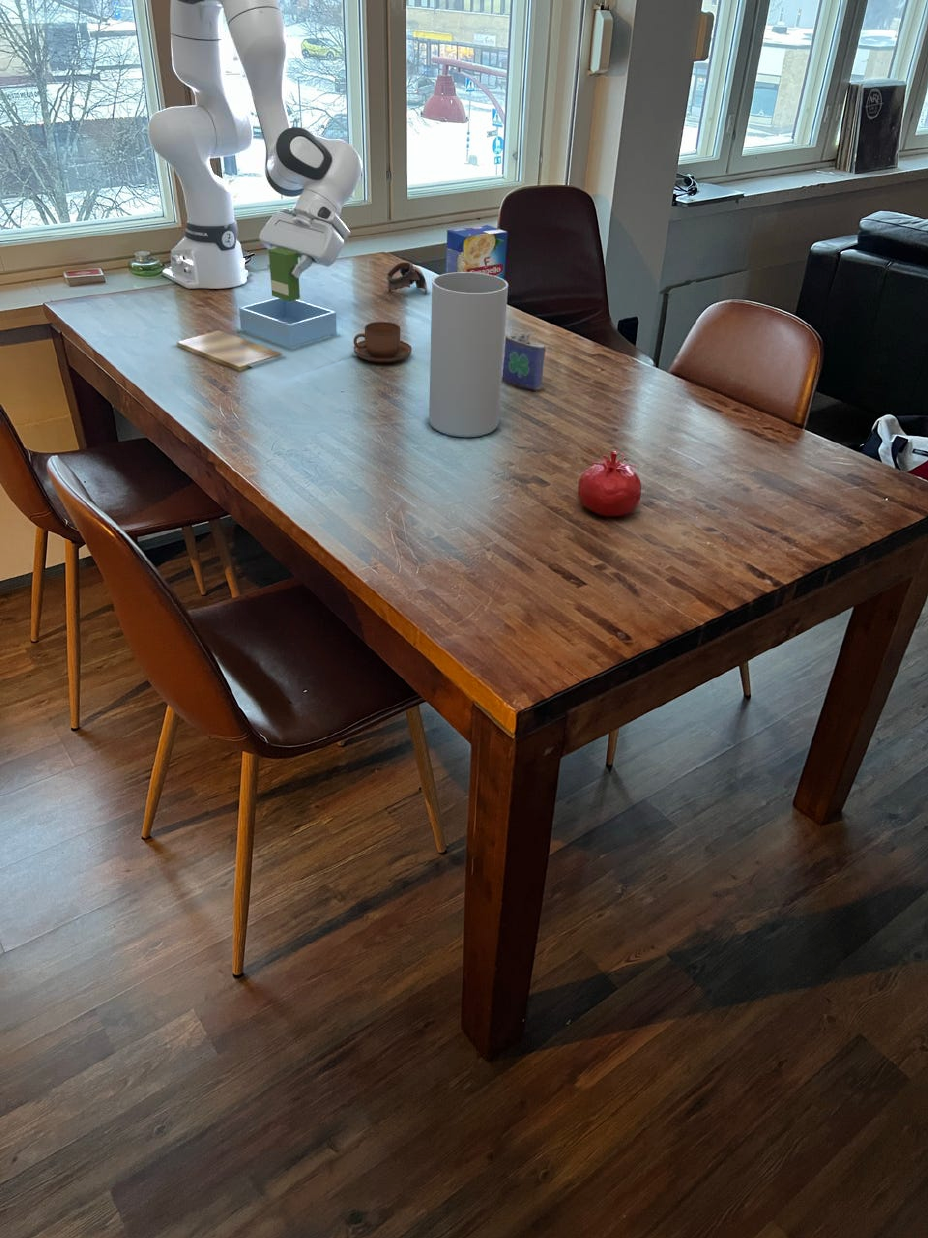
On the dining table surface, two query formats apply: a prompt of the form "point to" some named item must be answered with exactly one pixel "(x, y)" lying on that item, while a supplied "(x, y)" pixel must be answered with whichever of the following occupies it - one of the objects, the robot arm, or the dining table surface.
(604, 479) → the pomegranate
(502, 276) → the blue food box
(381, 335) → the cup and saucer
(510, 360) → the flask
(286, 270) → the block
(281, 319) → the basin
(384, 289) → the dining table surface
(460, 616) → the dining table surface
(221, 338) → the board
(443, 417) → the cylinder vase
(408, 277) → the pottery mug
